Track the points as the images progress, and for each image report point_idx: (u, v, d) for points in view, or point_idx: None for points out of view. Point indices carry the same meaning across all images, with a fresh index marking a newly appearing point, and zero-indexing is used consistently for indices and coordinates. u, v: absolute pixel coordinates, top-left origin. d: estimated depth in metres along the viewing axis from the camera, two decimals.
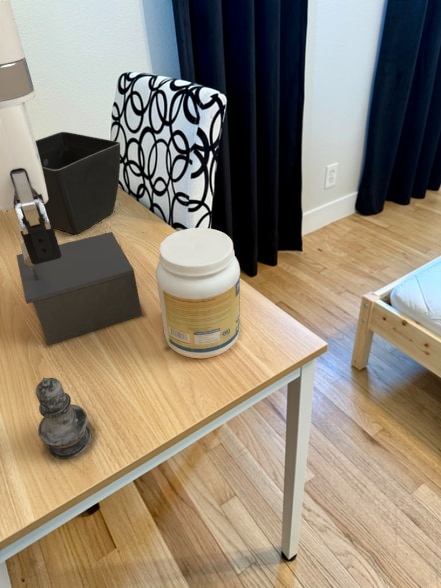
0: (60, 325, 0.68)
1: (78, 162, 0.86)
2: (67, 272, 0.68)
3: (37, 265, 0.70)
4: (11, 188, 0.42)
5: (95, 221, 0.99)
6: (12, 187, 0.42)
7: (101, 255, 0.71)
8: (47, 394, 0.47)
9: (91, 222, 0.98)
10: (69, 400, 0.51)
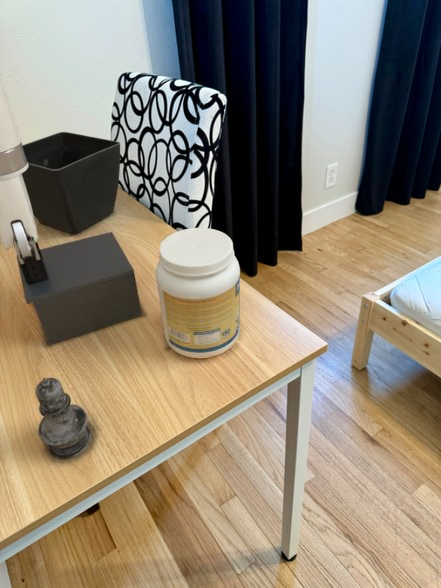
0: (60, 325, 0.68)
1: (78, 162, 0.86)
2: (67, 272, 0.68)
3: None
4: (11, 233, 0.58)
5: (95, 221, 0.99)
6: (12, 232, 0.58)
7: (101, 255, 0.71)
8: (47, 394, 0.47)
9: (91, 222, 0.98)
10: (69, 400, 0.51)
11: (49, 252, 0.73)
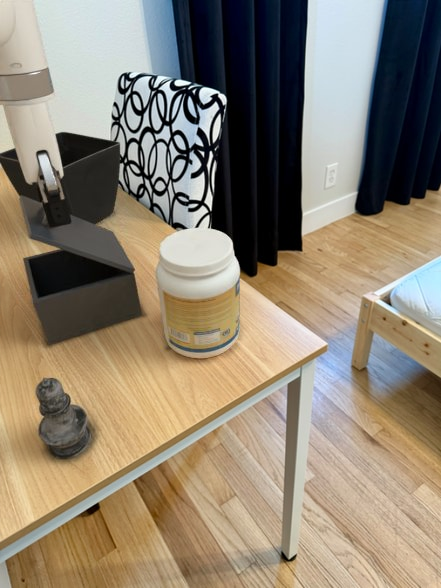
0: (60, 325, 0.68)
1: (78, 162, 0.86)
2: (73, 236, 0.65)
3: (43, 214, 0.65)
4: (36, 165, 0.55)
5: (95, 221, 0.99)
6: (37, 164, 0.55)
7: (105, 242, 0.70)
8: (47, 394, 0.47)
9: (91, 222, 0.98)
10: (69, 400, 0.51)
11: None
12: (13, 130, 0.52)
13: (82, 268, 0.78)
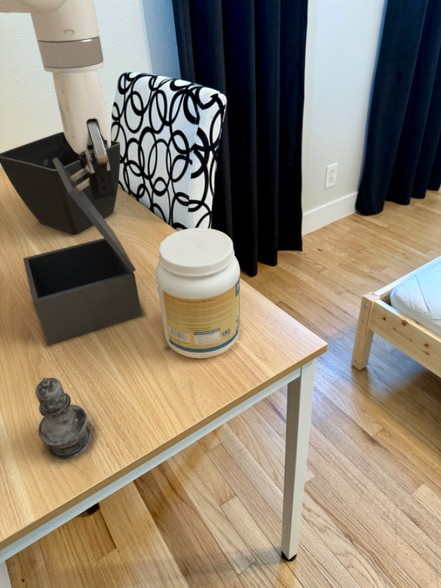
0: (60, 325, 0.68)
1: (78, 162, 0.86)
2: (95, 214, 0.65)
3: (73, 182, 0.65)
4: (86, 133, 0.55)
5: None
6: (87, 133, 0.55)
7: (113, 235, 0.70)
8: (47, 394, 0.47)
9: (91, 222, 0.98)
10: (69, 400, 0.51)
11: None
12: (65, 98, 0.53)
13: (82, 268, 0.78)
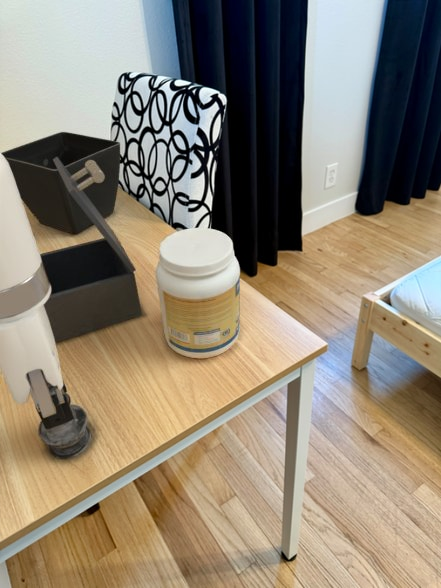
0: (60, 325, 0.68)
1: (78, 162, 0.86)
2: (95, 213, 0.65)
3: (74, 182, 0.65)
4: (27, 386, 0.41)
5: None
6: (28, 386, 0.41)
7: (113, 235, 0.70)
8: None
9: (91, 222, 0.98)
10: (69, 400, 0.51)
11: None
12: None
13: (82, 268, 0.78)
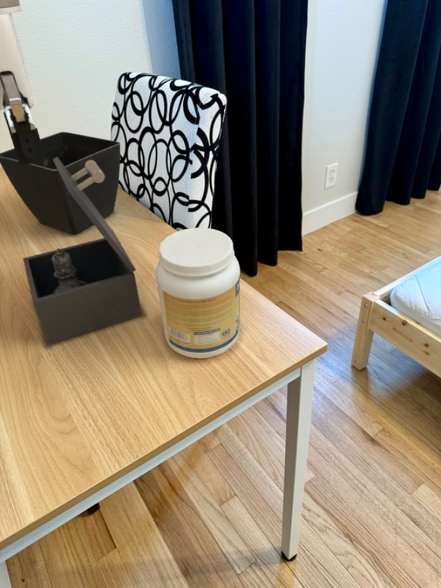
0: (60, 325, 0.68)
1: (78, 162, 0.86)
2: (95, 213, 0.65)
3: (74, 182, 0.65)
4: (1, 88, 0.49)
5: None
6: (1, 88, 0.49)
7: (113, 235, 0.70)
8: (60, 259, 0.67)
9: (91, 222, 0.98)
10: (76, 270, 0.71)
11: None
12: None
13: (82, 268, 0.78)
